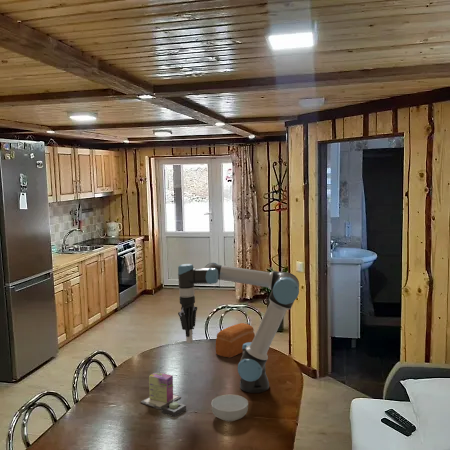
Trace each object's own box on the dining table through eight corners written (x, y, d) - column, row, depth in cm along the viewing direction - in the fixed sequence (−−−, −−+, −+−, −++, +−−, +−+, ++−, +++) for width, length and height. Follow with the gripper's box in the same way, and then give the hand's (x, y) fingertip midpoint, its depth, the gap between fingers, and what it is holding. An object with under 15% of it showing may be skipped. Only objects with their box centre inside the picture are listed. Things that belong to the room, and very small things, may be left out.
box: (173, 398, 236) (172, 375, 235) (167, 403, 231) (166, 379, 230) (156, 394, 241) (155, 371, 240) (149, 399, 236) (148, 376, 235)
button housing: (186, 410, 226) (186, 405, 225) (174, 417, 219) (174, 412, 219) (173, 405, 230) (173, 400, 230) (161, 412, 224) (161, 407, 224)
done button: (180, 408, 225) (180, 403, 225) (174, 412, 222) (174, 407, 221) (173, 406, 228) (173, 401, 227) (167, 409, 224) (167, 404, 224)
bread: (213, 354, 298) (212, 329, 297) (239, 342, 318) (239, 319, 317) (230, 359, 289) (230, 333, 288) (256, 347, 309) (256, 323, 308)
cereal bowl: (236, 430, 206) (236, 414, 206) (204, 420, 215) (203, 405, 215) (255, 413, 221) (255, 398, 220) (224, 405, 230) (224, 391, 229)
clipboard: (181, 397, 239) (181, 395, 238) (159, 410, 226) (159, 407, 226) (162, 391, 246) (161, 389, 246) (140, 403, 234) (140, 400, 234)
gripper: (188, 292, 244) (191, 337, 246) (172, 297, 233) (175, 345, 236) (200, 293, 240) (203, 339, 242) (185, 299, 229) (187, 347, 231)
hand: (189, 342), depth 239 cm, fingers closed
